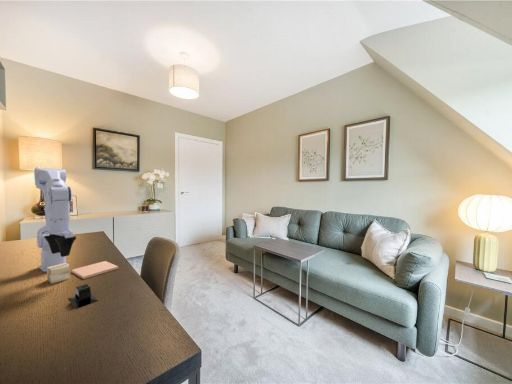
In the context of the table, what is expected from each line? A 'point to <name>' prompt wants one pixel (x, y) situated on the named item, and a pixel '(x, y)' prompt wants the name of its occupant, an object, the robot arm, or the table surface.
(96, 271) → the salmon pink board
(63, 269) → the birch cube
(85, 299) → the black block on base
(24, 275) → the table surface
